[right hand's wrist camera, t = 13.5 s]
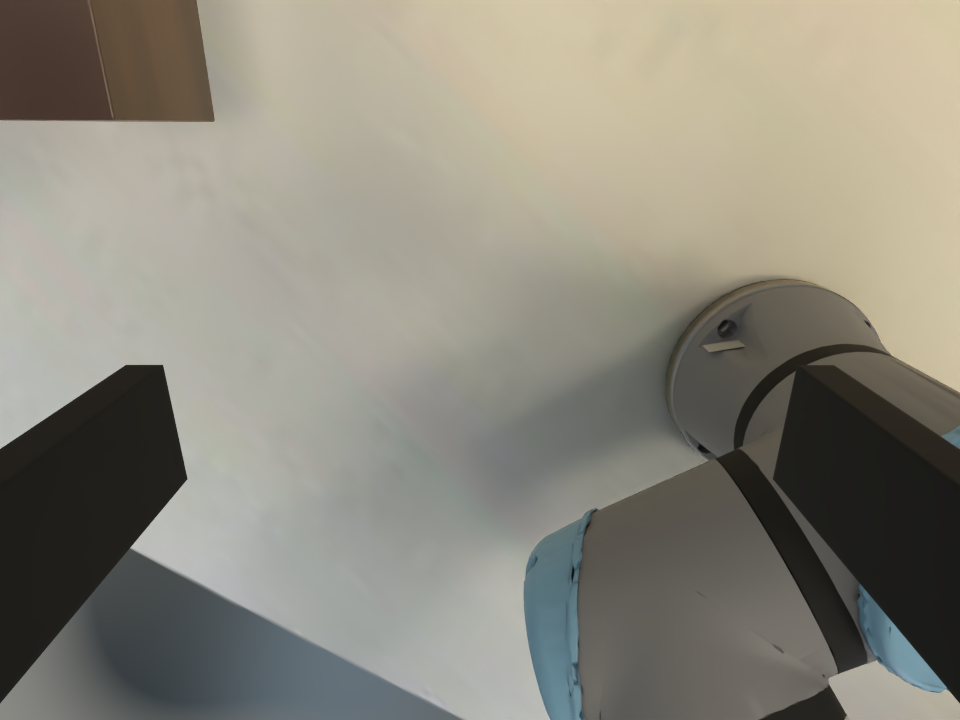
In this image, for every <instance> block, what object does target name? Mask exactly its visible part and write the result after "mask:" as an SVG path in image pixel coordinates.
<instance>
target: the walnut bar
mask: <svg viewBox="0 0 960 720" xmlns="http://www.w3.org/2000/svg"><path fill="white" fill-rule="evenodd" d="M0 120H21V121H123V122H214V120H215V119H214V113H213V106H212V100H211V93H210V87H209V80H208V73H207V67H206V60H205V54H204V47H203V41H202V34H201V28H200V21H199V14H198V8H197V1H196V0H0Z"/></svg>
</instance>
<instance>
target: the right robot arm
mask: <svg viewBox="0 0 960 720" xmlns="http://www.w3.org/2000/svg"><path fill="white" fill-rule="evenodd" d="M666 397H667V403H668V407H669V411H670V413H671V416H672V418H673V420H674V422H675V424H676V426H677V427H678V429H679V430H680V432H681V433H682V435H683V436H684V438H685V439H686V441H687V442H688V443H689V444H690V445H691V447H692V448H693V449H694V450H696V451H697V452H698V453H699V454H700V455H702V456H703V457H704V458H706V459H707V460H709V461H708V462H706V463H704V464H701V465H699V466H697V467H695V468H692V469H690V470H688V471H686V472H684V473H681V474H679V475H677V476H675V477H672V478H670V479H668V480H666V481H663V482H661V483H659V484H657V485H654V486H652V487H650V488H648V489H645V490H643V491H641V492H639V493H636V494H634V495H632V496H630V497H628V498H625V499H623V500H621V501H619V502H616V503H614V504H612V505H610V506H607V507H605V508H603V509H601V510H598V509H597V508H595V509H592V510H590V511H588V512H587V513H585V515H584V516H583V518H581V519H579V520H577V521H576V522H574V523H572V524H570V525H568V526H566V527H564V528H562V529H560V530H558V531H556V532H554V533H552V534H550V535H548V536H547V537H545V538H544V539H542V540H541V541H540V542H539V543H538V544H537V546H536V547H535V548H534V550H533V551H532V553H531V555H530V558H529V561H528V564H527V567H526V576H525V581H524V612H525V622H526V630H527V637H528V643H529V648H530V653H531V658H532V663H533V667H534V671H535V675H536V679H537V682H538V686H539V690H540V693H541V696H542V699H543V702H544V705H545V708H546V711H547V713H548V715H549V717H550V719H551V720H849V718H848V716H847V715H846V713H845V711H844V710H843V708H842V706H841V704H840V703H839V701H838V699H837V697H836V696H835V694H834V692H833V690H832V689H831V687H830V685H829V683H828V679H829V677H832V676H834V675H836V674H839V673H842V672H844V671H847V670H850V669H853V668H855V667H858V666H861V665H864V664H868V663H870V662H873V661H875V660H877V661H878V662H879V663H880V664H882V665H883V666H885V667H886V668H887V670H888V671H889V672H891V673H894V674H895V675H896V676H899V677H900V678H901V679H903V680H904V681H905V682H908V683H909V684H911V685H913V686H915V687H918V688H920V689H923V690H926V691H930V692H936V693H940V692H942V691H943V690H945V689H947V690H948V691H950V692H951V693H952V694H953V696H954V697H955V698H956V699H957V700H958V702H959V703H960V393H959V392H957V391H956V390H954V389H952V388H950V387H948V386H946V385H945V384H943V383H941V382H939V381H937V380H935V379H934V378H932V377H930V376H928V375H926V374H924V373H923V372H921V371H919V370H917V369H915V368H913V367H912V366H910V365H908V364H906V363H904V362H902V361H900V360H898V359H897V358H895V357H893V356H891V354H890V353H889V352H888V351H887V350H886V349H885V347H884V346H883V345H882V343H881V342H880V339H879V337H878V335H877V333H876V331H875V329H874V328H873V326H872V325H871V323H870V321H869V320H868V319H867V318H866V316H865V315H864V314H863V313H862V312H861V311H860V310H859V309H858V308H857V307H856V306H855V305H854V304H853V303H851V302H850V301H848V300H847V299H845V298H844V297H842V296H840V295H838V294H836V293H834V292H832V291H830V290H828V289H826V288H823V287H821V286H818V285H816V284H812V283H809V282H805V281H798V280H771V281H764V282H759V283H755V284H751V285H748V286H745V287H742V288H740V289H738V290H735V291H733V292H731V293H729V294H727V295H725V296H724V297H722V298H720V299H719V300H717V301H716V302H714V303H713V304H712V305H710V306H709V307H708V308H706V309H705V310H704V311H703V312H702V313H701V314H700V315H699V316H698V317H697V318H696V319H695V320H694V321H693V322H692V323H691V324H690V325H689V327H688V328H687V329H686V331H685V332H684V333H683V335H682V337H681V338H680V340H679V341H678V343H677V345H676V347H675V349H674V352H673V354H672V356H671V359H670V363H669V366H668V371H667V376H666ZM186 480H187V475H186V470H185V466H184V461H183V456H182V452H181V447H180V442H179V438H178V433H177V428H176V424H175V419H174V414H173V410H172V405H171V400H170V395H169V391H168V386H167V381H166V377H165V372H164V367H163V365H125V366H124V367H122V368H121V369H119V370H118V371H116V372H115V373H113V374H112V375H110V376H109V377H107V378H106V379H104V380H103V381H101V382H100V383H98V384H97V385H95V386H94V387H92V388H91V389H89V390H88V391H86V392H85V393H83V394H82V395H80V396H79V397H77V398H76V399H74V400H73V401H72V402H70V403H69V404H67V405H66V406H64V407H63V408H61V409H60V410H58V411H57V412H55V413H54V414H52V415H51V416H49V417H48V418H46V419H45V420H43V421H42V422H40V423H39V424H37V425H36V426H34V427H33V428H31V429H30V430H28V431H27V432H25V433H24V434H22V435H21V436H19V437H18V438H16V439H15V440H13V441H12V442H10V443H9V444H7V445H6V446H4V447H3V448H1V449H0V703H1V702H2V700H3V699H4V698H5V697H6V696H7V694H8V693H9V692H10V691H11V690H12V688H13V687H14V686H15V685H16V684H17V683H18V681H19V680H20V679H21V678H22V677H23V675H24V674H25V673H26V672H27V671H28V669H29V668H30V667H31V666H32V665H33V663H34V662H35V661H36V660H37V659H38V657H39V656H40V655H41V654H42V652H43V651H44V650H45V649H46V648H47V646H48V645H49V644H50V643H51V642H52V641H53V639H54V638H55V637H56V636H57V635H58V633H59V632H60V631H61V630H62V629H63V627H64V626H65V625H66V624H67V623H68V621H69V620H70V619H71V618H72V617H73V615H74V614H75V613H76V612H77V611H78V609H79V608H80V607H81V606H82V605H83V603H84V602H85V601H86V600H87V599H88V597H89V596H90V595H91V594H92V593H93V591H94V590H95V589H96V588H97V587H98V585H99V584H100V583H101V582H102V581H103V580H104V578H105V577H106V576H107V575H108V574H109V572H110V571H111V570H112V569H113V568H114V566H115V565H116V564H117V563H118V561H119V560H120V559H121V558H122V557H123V555H124V554H125V553H126V552H127V551H128V550H129V548H130V547H131V546H132V545H133V544H134V542H135V541H136V540H137V539H138V538H139V536H140V535H141V534H142V533H143V532H144V530H145V529H146V528H147V527H148V526H149V524H150V523H151V522H152V521H153V520H154V518H155V517H156V516H157V515H158V514H159V512H160V511H161V510H162V509H163V508H164V506H165V505H166V504H167V503H168V502H169V500H170V499H171V498H172V497H173V496H174V494H175V493H176V492H177V491H178V490H179V488H180V487H181V486H182V485H183V484H184V483H185V481H186Z"/></svg>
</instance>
